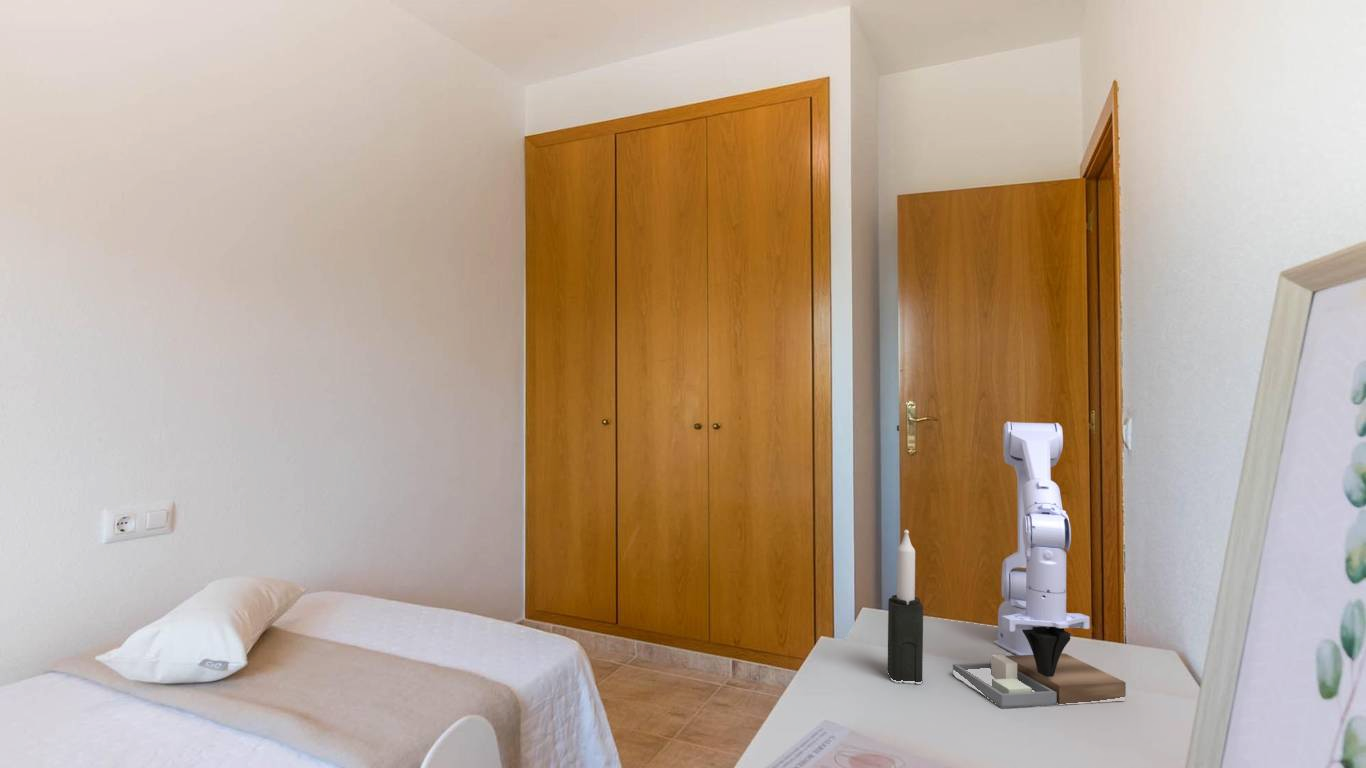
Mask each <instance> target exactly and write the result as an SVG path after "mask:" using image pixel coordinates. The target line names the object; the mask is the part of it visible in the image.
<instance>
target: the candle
mask: <svg viewBox="0 0 1366 768" xmlns="http://www.w3.org/2000/svg"><path fill="white" fill-rule="evenodd" d="M903 534H904V535H903V537H902V540H901V543H900V545H898V547H897V549H896V550H897V551H896V553H897V554H896V555H897V556H896V594H893V595H891V597H890V598H888V599H887V600H888V601H887V602H888V603H887V604H888V605H887V606H888V607H887V608H888V610H887V612H888V613H887V618H888V619H887V671H888V673H889V675H890V677H891V678H892V679H893V680H896V681H901V680H903V681H915V682H921V681H922V682H923V671H924V670H923V665H924V664H923V659H924V655H923V653H924V652H923V650H924V649H923V647H924V646H923V644H924V605H923V604H922V603H921V599H920V598H919V597H917V596H916V595H915V594H916V591H915V590H916V550H915V548H914V547H913V545H912V543H911V539H910V535H909V534H910V532H909V530H908V529H904V531H903ZM888 673H887V674H888ZM890 677H889V678H890Z"/></svg>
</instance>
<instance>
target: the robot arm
mask: <svg viewBox="0 0 1366 768" xmlns="http://www.w3.org/2000/svg"><path fill="white" fill-rule="evenodd" d="M1059 423H1060V422H1059ZM1059 423H1058V422H1054V423H1053V422H1051V423H1050V422H1049V423H1048V422H1047V423H1046V422H1015V421H1014V422H1013V421H1006V423H1004V424H1003V428H1002V429H1003V430H1002V432H1003V433H1002V445H1003V459H1004V463H1005V464H1007V465H1009V466H1011V467H1013V468H1014V471H1015V475H1016V478H1017V483H1016V484H1017V551H1016V552H1014V553H1012V554H1011V555H1008V556H1007V557H1006V558H1004V559H1003V562H1002V565H1001V566H1002V569H1001V580H1000V582H1001V597H1002V598H1003V599H1004V601H1003V602H1001V603H1000V605H999V608H998V611H997V612H998V613H997V640H994V641H993V644H995V645H997V646H999V647H1001V648H1003V649H1004V650H1006V651H1008V652H1011V653H1012V654H1013V655H1034V658H1035V662H1036V666H1037V671H1038V673H1040V674H1042V675H1044V676H1045V677H1053V676H1054V673H1055V670H1056V666H1057V663H1058V660H1059V657H1060V655H1061V653H1063V651H1064V650H1065V648H1066V646H1067V644H1068V643H1069V642H1070V641H1071V633H1070V632H1068V631H1065V629H1078V628H1081V629H1084V630H1090V627H1091V626H1090V623H1091V622H1090V618H1091V617H1090V616H1089V615H1085V614H1083V613H1081V612H1080V613H1079V612H1078V613H1077V612H1076V613H1075V612H1074V613H1073V612H1072V613H1071V612H1070V613H1069V612H1067V552H1069V551H1070V547H1071V541H1072V528H1071V524H1070V523H1071V522H1070V519H1069V515H1068V514H1067V511H1066V510H1064V509H1063V503H1062V497H1061V490H1060V487H1059V485H1058V484H1057V483H1056V482H1055V481H1053V480H1052V478H1051V468H1052V467H1055V466H1057V464H1058V463H1057V462H1059V459H1060V458H1061V454H1062V451H1063V446H1064V435H1063V427H1062V425H1060V424H1059ZM1065 550H1066V551H1065ZM1019 568H1021V569H1019ZM1022 568H1023V569H1022Z"/></svg>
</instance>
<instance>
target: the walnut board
mask: <svg viewBox="0 0 1366 768" xmlns="http://www.w3.org/2000/svg"><path fill="white" fill-rule="evenodd" d="M1005 656H1006V657H1007V658H1009V659H1011V660H1012V661H1014V662H1016V663H1017V670H1018V671H1019V672H1021V673H1023V674H1025V675H1026V676H1028V677H1030V678H1032V679H1034V680H1035V681H1037V682H1039V683H1041V684H1042V685H1044V686H1046V687H1048V688H1050V689H1051V690H1053V691H1055V692H1057V703H1058V704H1066V703H1078V702H1091V701H1100V700H1107V699H1115V698H1120V697H1125V696H1126V695H1127V694H1126V692H1127V691H1126V690H1127V689H1126V682H1127V681H1123V680H1122V679H1119V678H1118V677H1116V676H1114V675H1111V674H1109V673H1107V672H1105V671H1103V670H1100V669H1099V668H1097V667H1094V666H1092V665H1090V664H1088V663H1086V662H1083V661H1082V660H1080V659H1077V658H1075V657H1073V656H1072V655H1069V654H1068V653H1065V652H1064V653H1063V652H1062V653H1061V655H1060V657H1059V660H1058V663H1057V666H1056V670H1055V673H1054V676H1053V677H1045V676H1044V675H1042V674H1040V673H1038V671H1037V666H1036V662H1035V658H1034V655H1016V654H1014V655H1005ZM1058 704H1057V705H1058Z"/></svg>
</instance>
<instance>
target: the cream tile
mask: <svg viewBox="0 0 1366 768" xmlns="http://www.w3.org/2000/svg"><path fill="white" fill-rule="evenodd" d="M1006 656H1007V655H1003V654H991V657H990V658H991V660H990V662H991V675H992V676H993V677H994V678H995V679H1010V678H1015V679H1017V663H1016V662H1014V661H1012V660H1011V659H1009V658H1007V657H1006Z"/></svg>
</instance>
